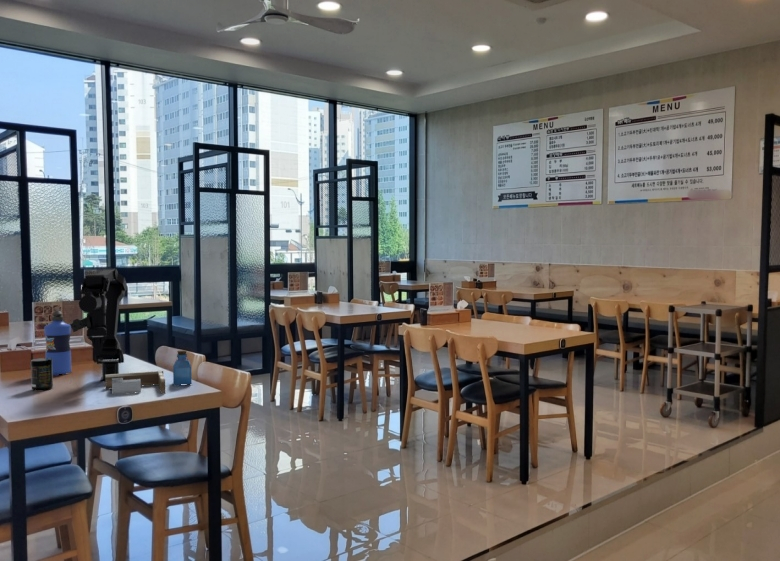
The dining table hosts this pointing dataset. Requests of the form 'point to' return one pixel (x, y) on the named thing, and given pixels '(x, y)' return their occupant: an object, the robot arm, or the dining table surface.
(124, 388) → the bracket
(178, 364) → the blue corked bottle
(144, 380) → the tan l-shaped wall
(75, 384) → the dining table surface
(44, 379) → the supplement container
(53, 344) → the water bottle
